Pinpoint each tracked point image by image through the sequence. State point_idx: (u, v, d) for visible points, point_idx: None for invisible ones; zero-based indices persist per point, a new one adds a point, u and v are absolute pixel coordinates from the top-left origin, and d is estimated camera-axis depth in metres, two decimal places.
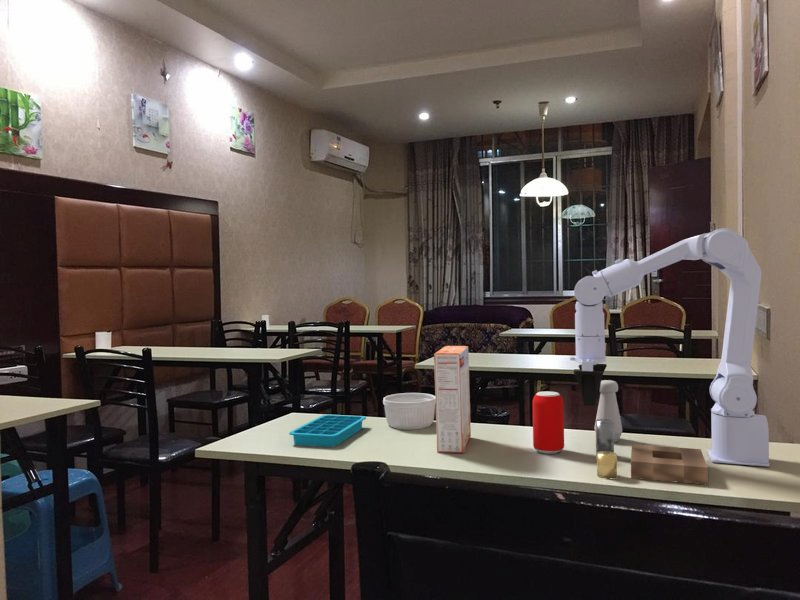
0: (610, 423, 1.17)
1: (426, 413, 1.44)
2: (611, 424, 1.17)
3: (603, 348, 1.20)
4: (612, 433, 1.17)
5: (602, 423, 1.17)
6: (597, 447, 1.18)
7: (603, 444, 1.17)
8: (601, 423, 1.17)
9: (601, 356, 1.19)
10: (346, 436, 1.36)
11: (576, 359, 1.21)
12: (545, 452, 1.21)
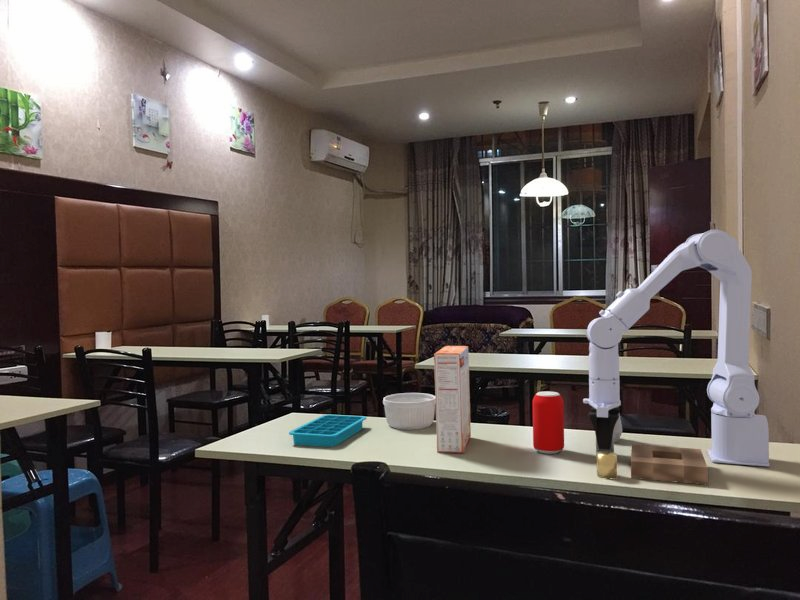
0: None
1: (426, 413, 1.44)
2: None
3: (618, 392, 1.16)
4: None
5: None
6: (597, 447, 1.18)
7: None
8: None
9: (616, 400, 1.16)
10: (346, 436, 1.36)
11: (590, 402, 1.18)
12: (545, 452, 1.21)
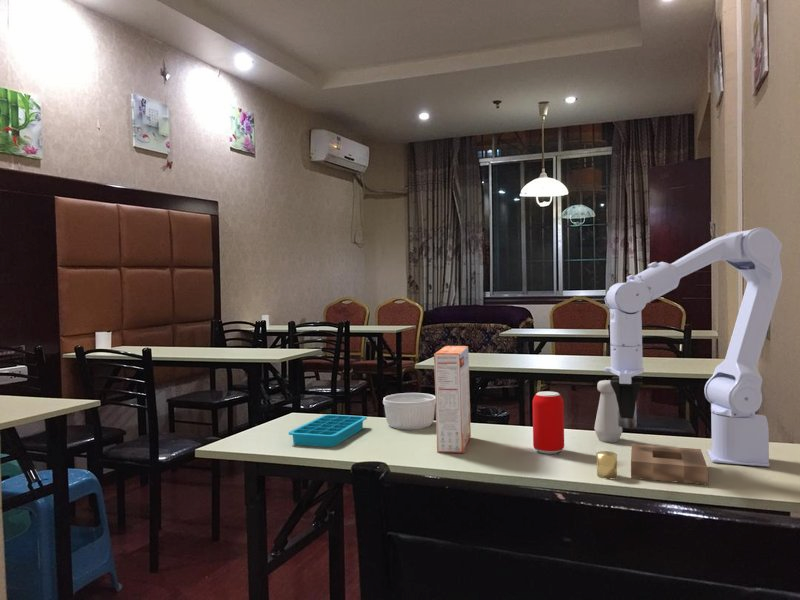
0: None
1: (426, 413, 1.44)
2: None
3: (641, 359, 1.12)
4: None
5: None
6: (619, 416, 1.14)
7: None
8: None
9: (639, 367, 1.12)
10: (346, 436, 1.36)
11: (611, 370, 1.13)
12: (545, 452, 1.21)
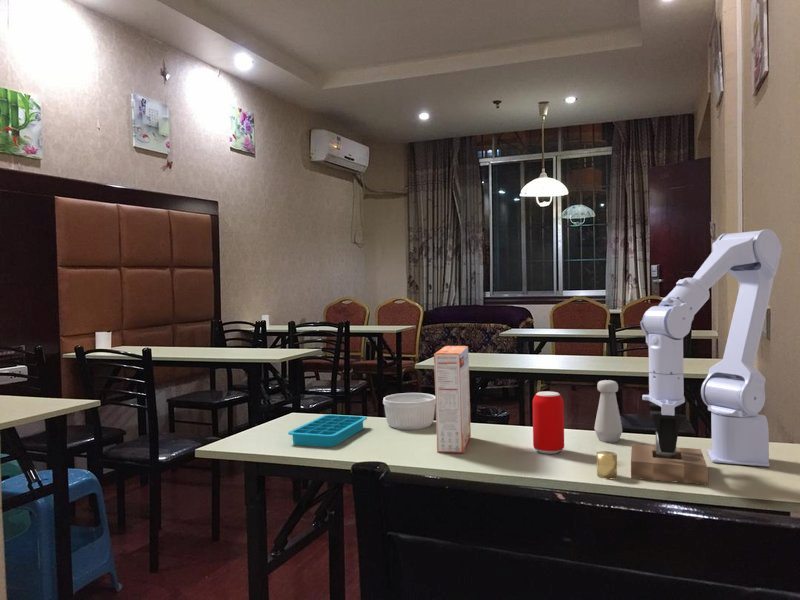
0: None
1: (426, 413, 1.44)
2: None
3: (682, 387, 1.06)
4: None
5: None
6: None
7: None
8: None
9: (680, 396, 1.05)
10: (345, 436, 1.36)
11: (651, 399, 1.07)
12: (545, 452, 1.21)
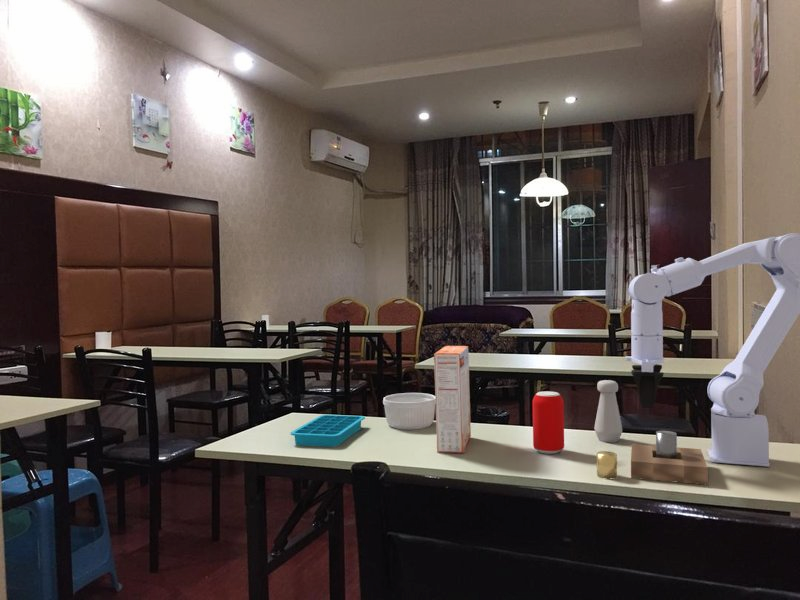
0: (673, 435, 1.06)
1: (426, 413, 1.44)
2: (674, 436, 1.06)
3: (661, 348, 1.15)
4: (675, 446, 1.07)
5: (664, 435, 1.07)
6: None
7: None
8: (663, 435, 1.07)
9: (659, 356, 1.15)
10: (347, 436, 1.36)
11: (633, 359, 1.16)
12: (545, 452, 1.21)
